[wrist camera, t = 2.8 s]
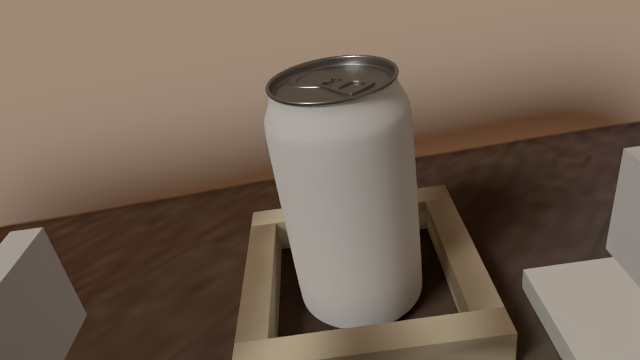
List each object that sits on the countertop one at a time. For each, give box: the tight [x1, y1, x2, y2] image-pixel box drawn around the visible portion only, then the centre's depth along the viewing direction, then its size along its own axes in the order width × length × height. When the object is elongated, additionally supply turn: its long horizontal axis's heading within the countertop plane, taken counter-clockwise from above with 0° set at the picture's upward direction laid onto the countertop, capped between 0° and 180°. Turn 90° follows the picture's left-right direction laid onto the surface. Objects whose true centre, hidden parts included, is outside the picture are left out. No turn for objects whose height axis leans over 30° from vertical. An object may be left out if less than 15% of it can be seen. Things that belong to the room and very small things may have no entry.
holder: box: [232, 185, 517, 360], centre depth 27 cm, size 12×12×2 cm
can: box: [264, 55, 422, 329], centre depth 24 cm, size 6×6×12 cm
